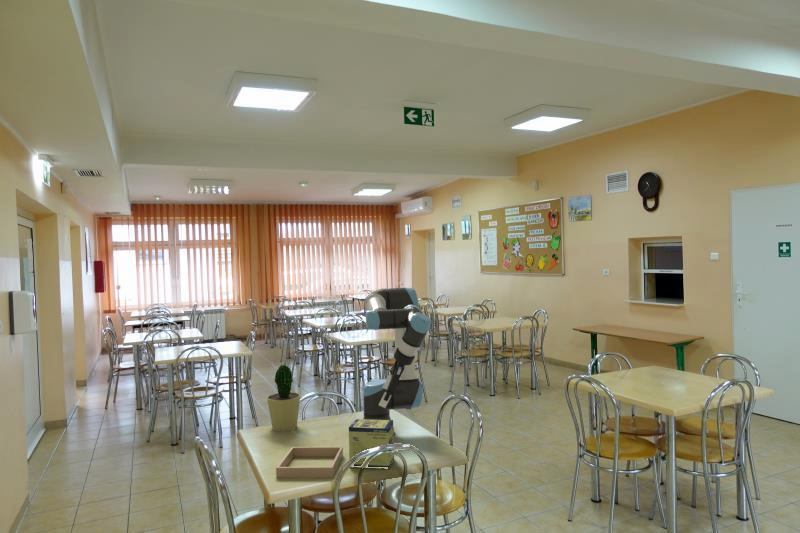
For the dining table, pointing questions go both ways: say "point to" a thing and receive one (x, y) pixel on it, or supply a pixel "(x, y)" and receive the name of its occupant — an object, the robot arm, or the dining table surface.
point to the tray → (309, 471)
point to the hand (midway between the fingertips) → (383, 397)
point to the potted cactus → (283, 401)
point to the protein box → (371, 440)
